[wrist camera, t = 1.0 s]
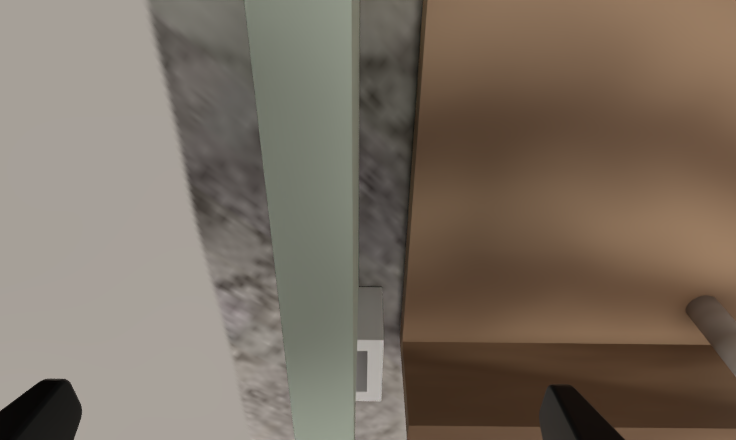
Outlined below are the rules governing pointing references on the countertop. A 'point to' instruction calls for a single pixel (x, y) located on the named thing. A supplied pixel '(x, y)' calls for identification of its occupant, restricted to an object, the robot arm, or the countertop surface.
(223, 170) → the countertop surface
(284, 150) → the door
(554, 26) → the cabinet floor
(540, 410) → the robot arm
